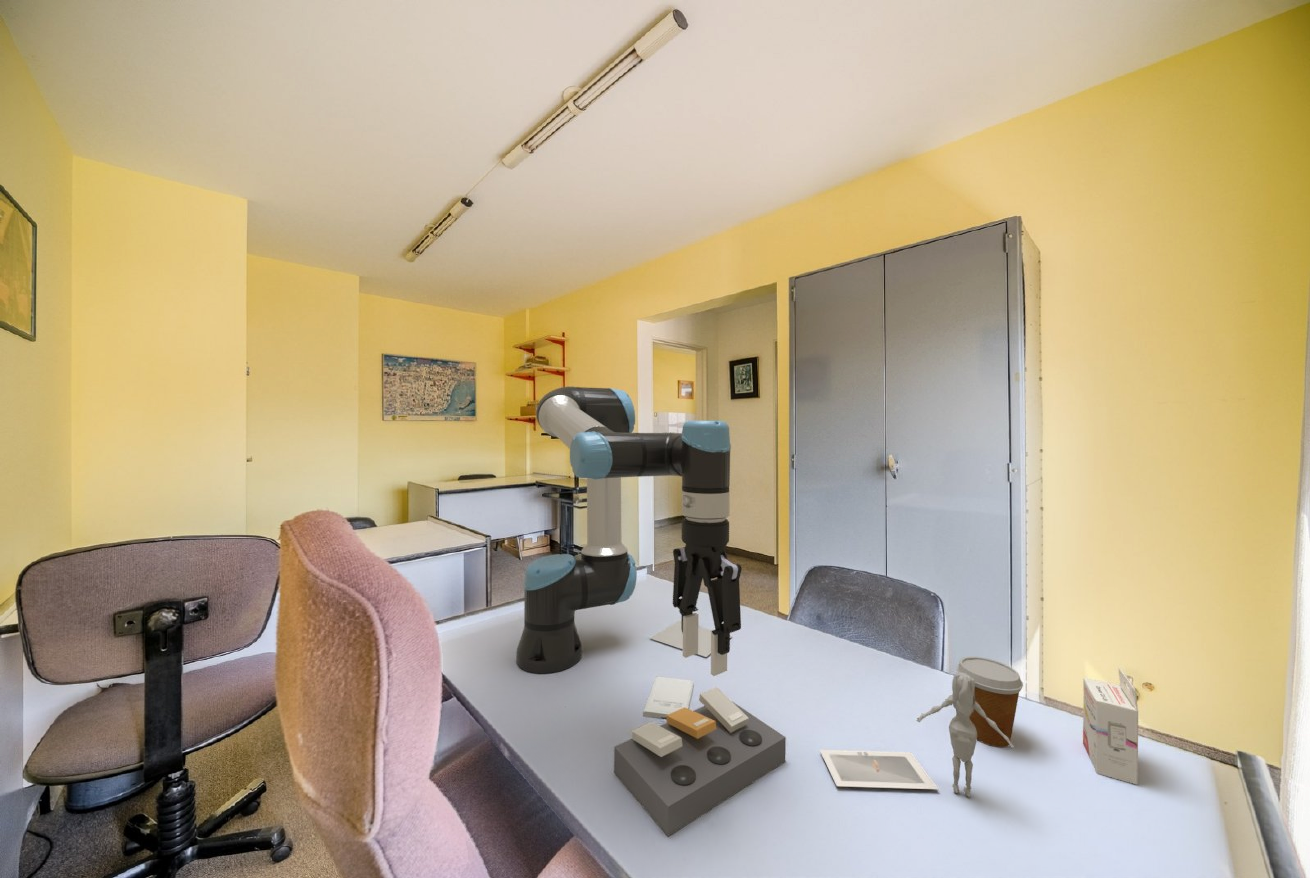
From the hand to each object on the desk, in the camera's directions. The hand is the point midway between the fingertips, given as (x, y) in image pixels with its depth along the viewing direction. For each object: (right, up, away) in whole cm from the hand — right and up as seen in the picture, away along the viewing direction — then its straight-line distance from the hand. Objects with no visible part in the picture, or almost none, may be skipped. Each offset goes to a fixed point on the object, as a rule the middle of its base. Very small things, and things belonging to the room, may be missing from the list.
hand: (704, 662), depth 72 cm
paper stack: (+8, -17, +48) cm, 51 cm away
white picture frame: (+27, -18, 0) cm, 32 cm away
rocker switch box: (0, -17, +1) cm, 17 cm away
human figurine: (+38, -17, -5) cm, 42 cm away
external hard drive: (-5, -18, +19) cm, 26 cm away
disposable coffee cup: (+52, -17, +9) cm, 55 cm away
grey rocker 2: (+4, -12, +7) cm, 14 cm away
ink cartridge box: (+66, -18, +2) cm, 68 cm away
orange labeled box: (-2, -12, +3) cm, 12 cm away
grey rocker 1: (-8, -12, -2) cm, 14 cm away
